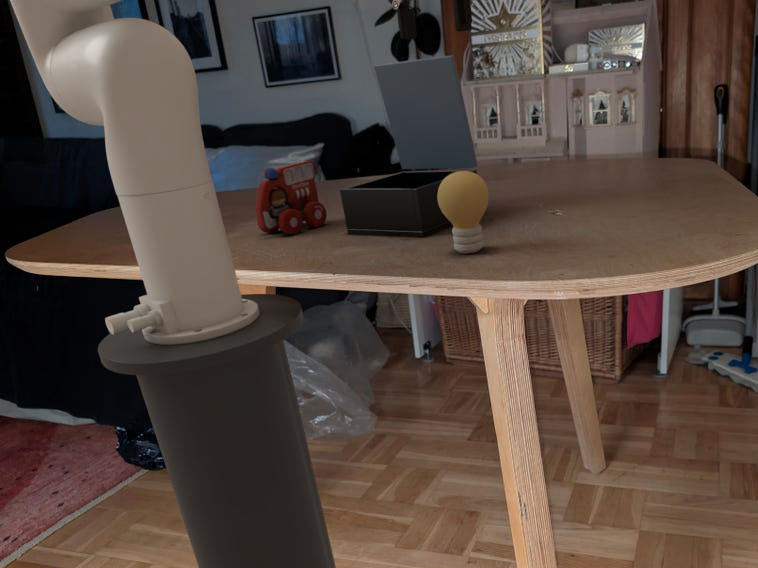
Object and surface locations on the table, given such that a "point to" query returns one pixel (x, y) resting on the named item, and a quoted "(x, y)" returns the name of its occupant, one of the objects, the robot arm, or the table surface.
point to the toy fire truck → (289, 199)
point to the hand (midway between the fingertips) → (435, 35)
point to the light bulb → (464, 208)
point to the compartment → (396, 205)
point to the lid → (427, 113)
